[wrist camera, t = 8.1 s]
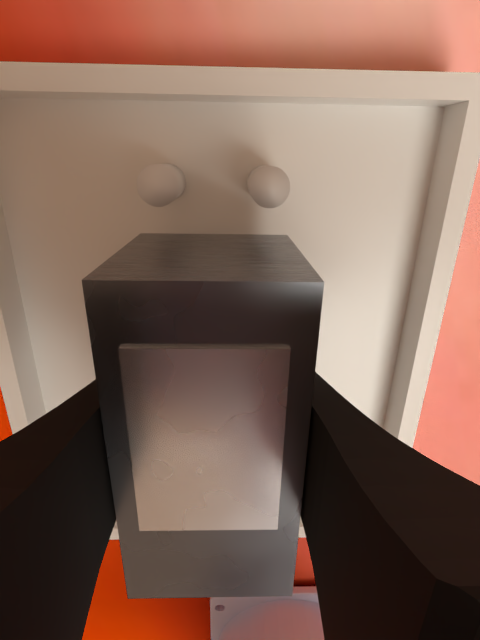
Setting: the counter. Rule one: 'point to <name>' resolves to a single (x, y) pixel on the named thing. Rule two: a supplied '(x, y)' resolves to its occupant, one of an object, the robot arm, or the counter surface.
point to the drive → (206, 407)
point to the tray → (236, 206)
